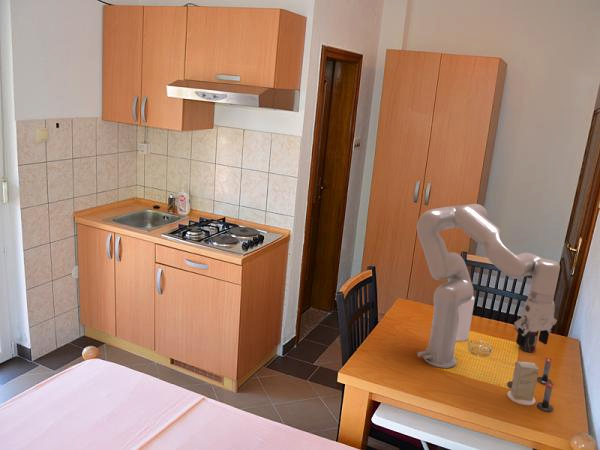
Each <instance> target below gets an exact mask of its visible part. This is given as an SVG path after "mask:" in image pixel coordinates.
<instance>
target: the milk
mask: <svg viewBox="0 0 600 450" xmlns="http://www.w3.org/2000/svg"><path fill="white" fill-rule="evenodd" d="M475 301H476V300H475V297H474V296H473V297H472V299H471V300H470V301H468V302H466V303H464V304H462V305H460V306H458V313H459V322H458V329H457V335H456V342H460V341H464V342H465V341H468V340H469V336H470V331H471V330H470V329H471V325H472V324H471V323H472V317H473V311H474V304H475Z"/></svg>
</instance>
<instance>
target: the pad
mask: <svg viewBox="0 0 600 450" xmlns="http://www.w3.org/2000/svg"><path fill="white" fill-rule="evenodd" d="M507 397H508V398H509V400H511V401H512V402H514V403H516V404H519V405H523V406H533V405H535V404H536V398H535V397H534V396H533V400H532V401H531V400H521V399H515V398H514V397H513V395H512V394H511V389H510V390H509V391H507Z"/></svg>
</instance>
